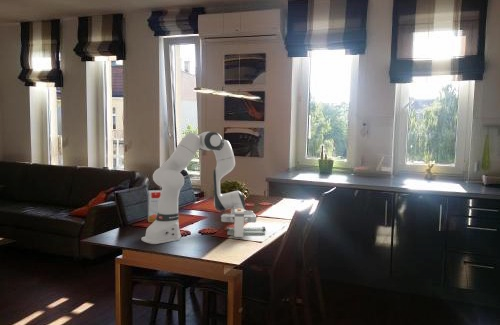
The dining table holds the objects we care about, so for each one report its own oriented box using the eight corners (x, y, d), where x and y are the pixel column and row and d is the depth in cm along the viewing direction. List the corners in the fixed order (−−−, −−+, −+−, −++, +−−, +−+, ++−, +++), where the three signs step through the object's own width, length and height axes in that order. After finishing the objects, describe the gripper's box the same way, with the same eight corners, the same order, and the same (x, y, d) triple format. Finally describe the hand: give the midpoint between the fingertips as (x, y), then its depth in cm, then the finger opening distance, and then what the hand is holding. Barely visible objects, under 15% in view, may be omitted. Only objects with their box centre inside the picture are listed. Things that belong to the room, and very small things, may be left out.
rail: (226, 231, 254) (226, 228, 254) (226, 229, 259) (226, 226, 259) (265, 231, 256) (265, 228, 256) (264, 229, 261) (264, 226, 261)
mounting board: (227, 234, 252) (227, 232, 252) (227, 230, 262) (227, 228, 262) (265, 234, 253) (265, 232, 253) (263, 230, 263) (263, 228, 263)
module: (234, 233, 248) (234, 207, 246) (242, 233, 248) (243, 207, 247) (234, 236, 241) (234, 210, 239) (243, 236, 241) (244, 210, 240)
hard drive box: (148, 222, 278) (147, 192, 276) (147, 220, 286) (147, 190, 284) (172, 221, 283) (172, 191, 280) (171, 218, 290) (171, 189, 288)
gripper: (220, 210, 256) (220, 215, 242) (255, 210, 257) (257, 216, 243) (220, 220, 256) (220, 226, 242) (255, 221, 257) (256, 227, 244)
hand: (239, 221), depth 243 cm, fingers closed on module, 5 cm apart
